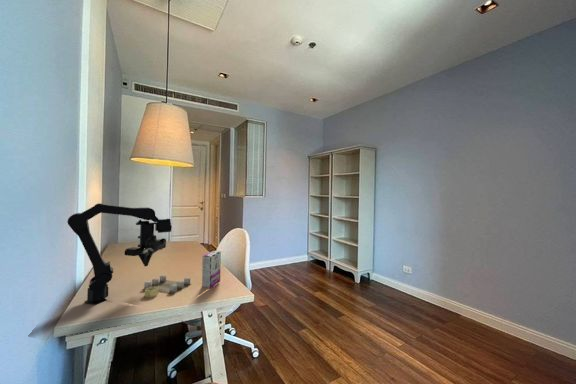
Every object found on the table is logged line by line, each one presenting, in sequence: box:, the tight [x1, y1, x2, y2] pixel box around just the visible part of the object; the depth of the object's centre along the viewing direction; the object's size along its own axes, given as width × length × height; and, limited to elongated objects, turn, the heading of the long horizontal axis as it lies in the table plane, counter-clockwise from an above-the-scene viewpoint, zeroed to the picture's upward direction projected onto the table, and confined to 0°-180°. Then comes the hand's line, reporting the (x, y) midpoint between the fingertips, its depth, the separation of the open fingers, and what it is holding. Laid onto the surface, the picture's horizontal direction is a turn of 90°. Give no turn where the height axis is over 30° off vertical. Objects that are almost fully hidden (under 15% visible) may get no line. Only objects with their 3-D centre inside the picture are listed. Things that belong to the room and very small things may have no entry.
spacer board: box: [141, 274, 192, 295], centre depth 113 cm, size 20×18×4 cm
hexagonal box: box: [144, 286, 160, 299], centre depth 106 cm, size 5×6×3 cm
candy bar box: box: [201, 250, 222, 289], centre depth 123 cm, size 11×5×16 cm, turn 170°
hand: (146, 266), depth 113 cm, fingers closed
